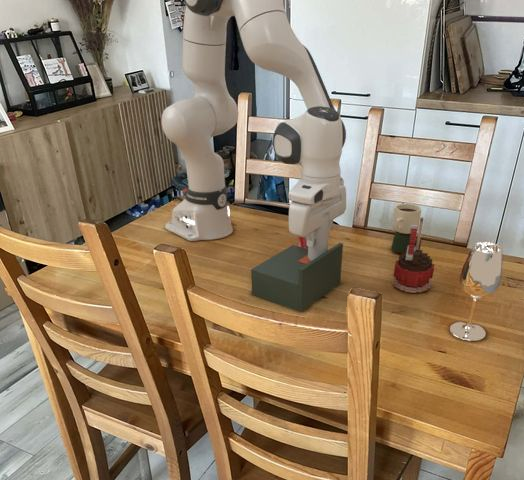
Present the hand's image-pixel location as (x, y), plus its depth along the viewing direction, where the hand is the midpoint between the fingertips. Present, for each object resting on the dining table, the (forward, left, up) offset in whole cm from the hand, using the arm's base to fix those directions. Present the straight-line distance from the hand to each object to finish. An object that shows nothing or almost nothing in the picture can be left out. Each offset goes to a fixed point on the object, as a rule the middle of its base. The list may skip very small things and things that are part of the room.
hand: (318, 241), depth 128 cm
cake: (+20, +13, -12) cm, 27 cm away
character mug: (+9, +31, -12) cm, 35 cm away
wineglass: (+39, 0, -12) cm, 41 cm away
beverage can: (0, 0, -5) cm, 5 cm away
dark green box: (-3, -5, -12) cm, 13 cm away
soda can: (-10, +12, -12) cm, 20 cm away
